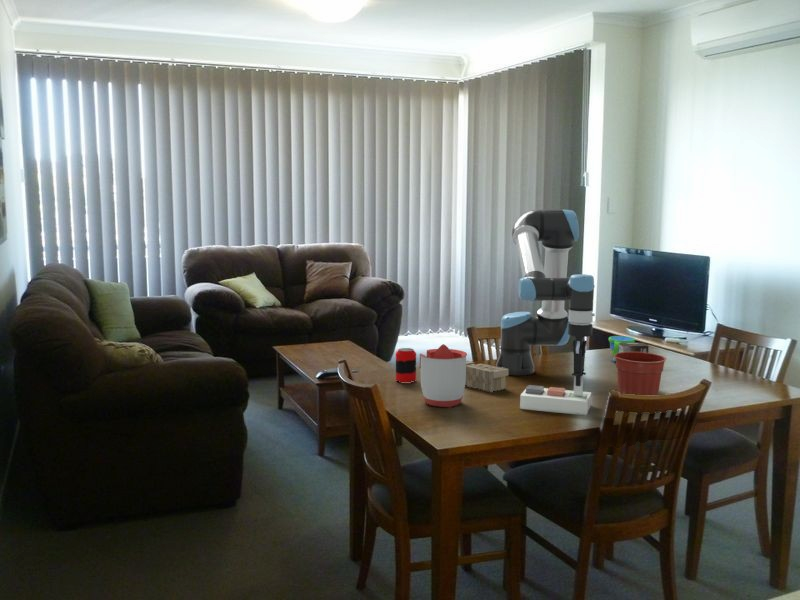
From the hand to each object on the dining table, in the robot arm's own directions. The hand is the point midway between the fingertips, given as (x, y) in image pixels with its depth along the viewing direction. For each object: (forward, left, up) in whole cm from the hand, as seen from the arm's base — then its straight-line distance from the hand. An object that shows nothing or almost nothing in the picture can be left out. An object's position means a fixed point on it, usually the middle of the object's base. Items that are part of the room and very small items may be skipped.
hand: (578, 395), depth 242 cm
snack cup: (+8, +79, -5) cm, 80 cm away
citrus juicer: (-44, -8, -5) cm, 45 cm away
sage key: (0, 0, -3) cm, 3 cm away
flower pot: (+18, +14, -5) cm, 23 cm away
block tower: (-41, +21, -5) cm, 47 cm away
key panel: (-7, 0, -5) cm, 8 cm away
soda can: (-65, +16, -5) cm, 67 cm away
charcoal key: (-14, 0, -2) cm, 14 cm away
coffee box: (+15, +36, -5) cm, 39 cm away
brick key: (-7, 0, -2) cm, 7 cm away
